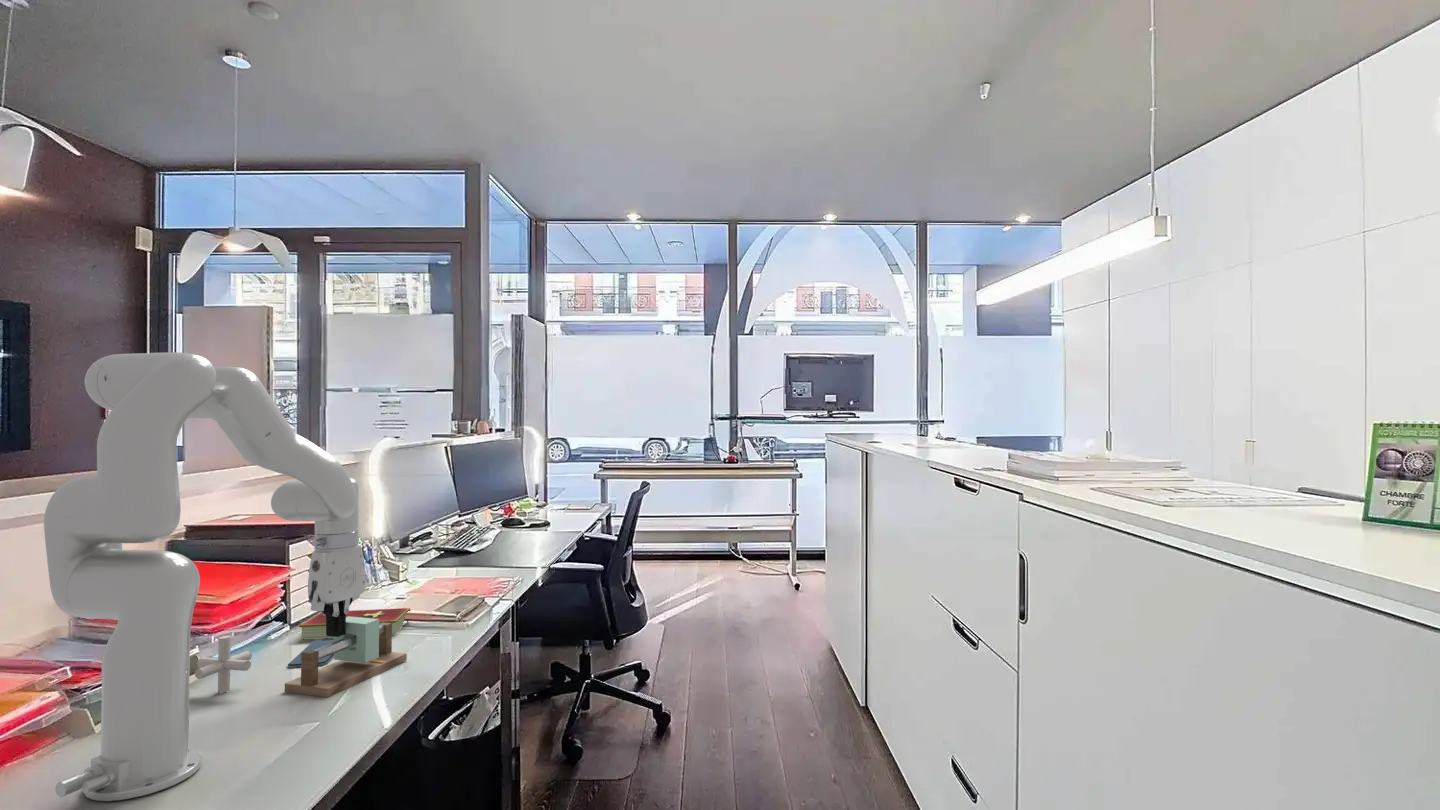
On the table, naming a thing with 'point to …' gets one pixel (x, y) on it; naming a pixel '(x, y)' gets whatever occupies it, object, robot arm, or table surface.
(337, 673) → the rod stand
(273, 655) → the table surface
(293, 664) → the smartphone
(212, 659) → the pipe connector
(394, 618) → the hardcover book
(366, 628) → the collar
